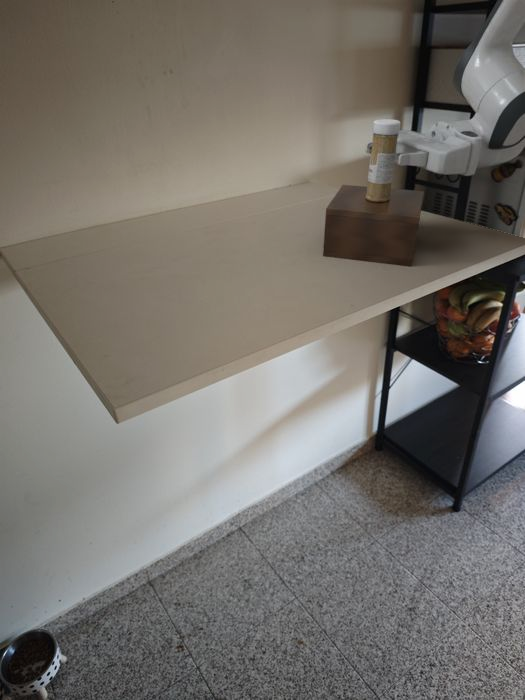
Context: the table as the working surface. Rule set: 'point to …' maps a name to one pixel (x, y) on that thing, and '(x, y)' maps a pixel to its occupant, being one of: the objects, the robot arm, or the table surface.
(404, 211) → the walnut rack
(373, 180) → the sprinkles bottle
